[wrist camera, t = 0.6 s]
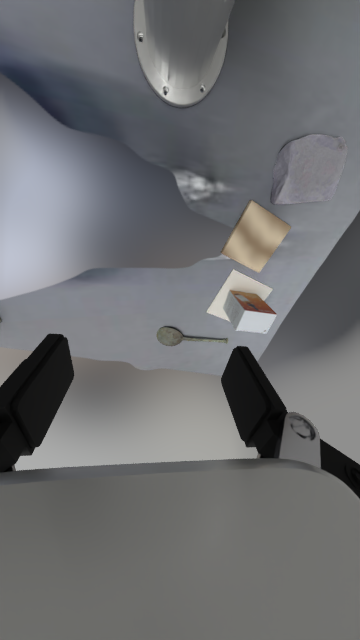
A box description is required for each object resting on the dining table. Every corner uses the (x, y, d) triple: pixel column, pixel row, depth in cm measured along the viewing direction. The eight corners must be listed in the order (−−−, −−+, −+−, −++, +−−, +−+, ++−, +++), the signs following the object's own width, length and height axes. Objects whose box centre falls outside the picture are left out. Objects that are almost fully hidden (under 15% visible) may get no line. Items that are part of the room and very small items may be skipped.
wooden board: (249, 200, 36) (251, 200, 35) (288, 226, 40) (291, 227, 39) (220, 252, 41) (221, 253, 40) (257, 271, 45) (259, 272, 44)
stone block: (271, 148, 34) (267, 209, 37) (288, 132, 29) (282, 204, 33) (330, 142, 34) (321, 203, 38) (356, 127, 30) (342, 197, 34)
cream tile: (233, 269, 44) (233, 269, 44) (272, 288, 48) (273, 289, 48) (206, 311, 50) (206, 312, 50) (243, 326, 54) (243, 326, 54)
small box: (256, 293, 48) (278, 314, 39) (248, 311, 51) (267, 334, 42) (228, 289, 46) (245, 309, 38) (221, 308, 49) (235, 331, 41)
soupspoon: (157, 322, 51) (155, 339, 55) (157, 329, 49) (154, 347, 52) (230, 331, 55) (222, 347, 59) (233, 338, 52) (225, 354, 56)
